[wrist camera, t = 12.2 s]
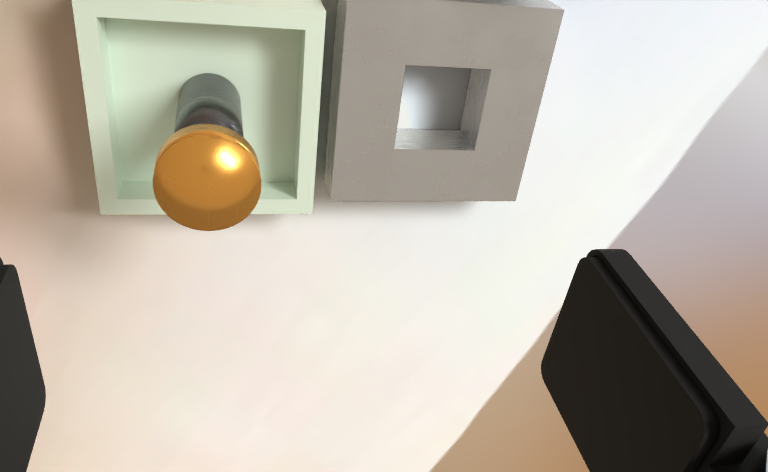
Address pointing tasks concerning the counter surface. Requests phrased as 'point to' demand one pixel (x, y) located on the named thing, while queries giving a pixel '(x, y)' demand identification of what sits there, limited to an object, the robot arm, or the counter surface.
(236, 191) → the pin
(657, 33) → the counter surface
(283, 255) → the counter surface
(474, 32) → the grey slotted block
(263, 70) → the tray
